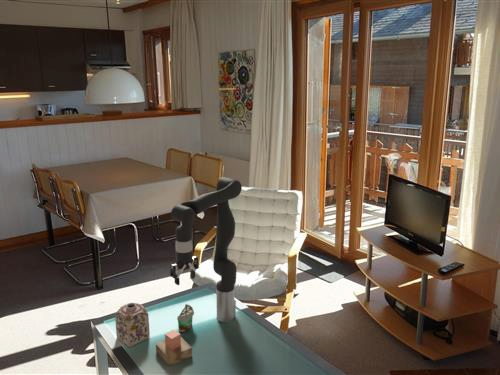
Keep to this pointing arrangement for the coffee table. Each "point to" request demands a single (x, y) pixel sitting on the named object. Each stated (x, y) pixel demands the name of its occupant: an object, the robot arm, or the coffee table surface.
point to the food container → (185, 319)
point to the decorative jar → (132, 324)
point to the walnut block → (174, 352)
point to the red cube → (172, 339)
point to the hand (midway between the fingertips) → (185, 281)
